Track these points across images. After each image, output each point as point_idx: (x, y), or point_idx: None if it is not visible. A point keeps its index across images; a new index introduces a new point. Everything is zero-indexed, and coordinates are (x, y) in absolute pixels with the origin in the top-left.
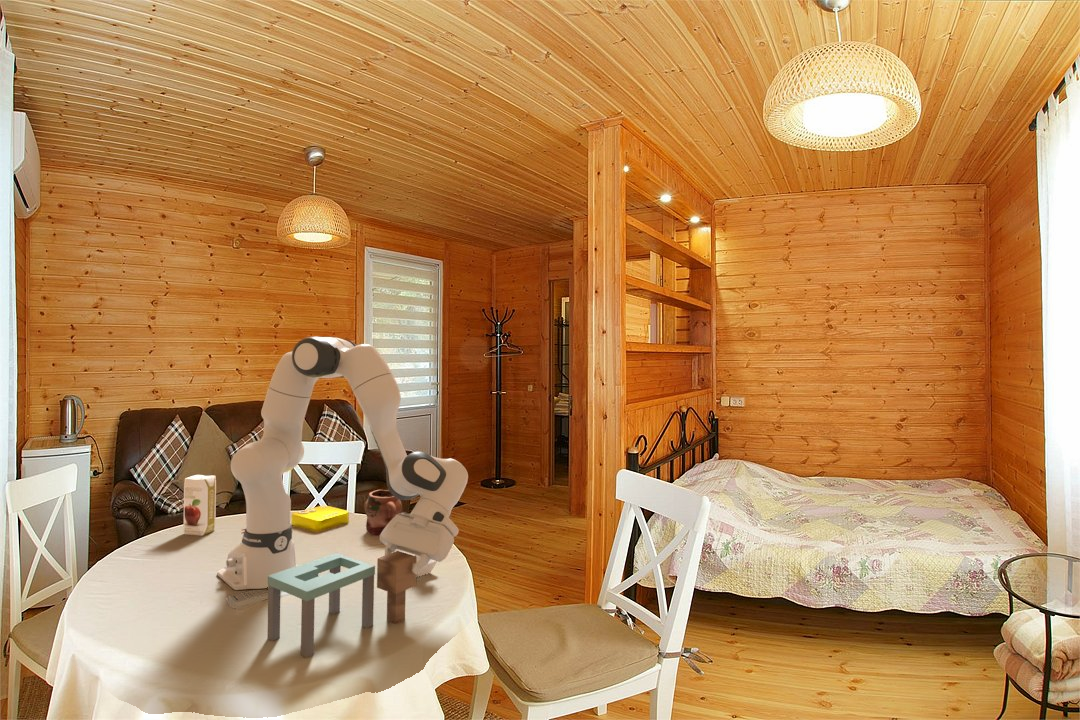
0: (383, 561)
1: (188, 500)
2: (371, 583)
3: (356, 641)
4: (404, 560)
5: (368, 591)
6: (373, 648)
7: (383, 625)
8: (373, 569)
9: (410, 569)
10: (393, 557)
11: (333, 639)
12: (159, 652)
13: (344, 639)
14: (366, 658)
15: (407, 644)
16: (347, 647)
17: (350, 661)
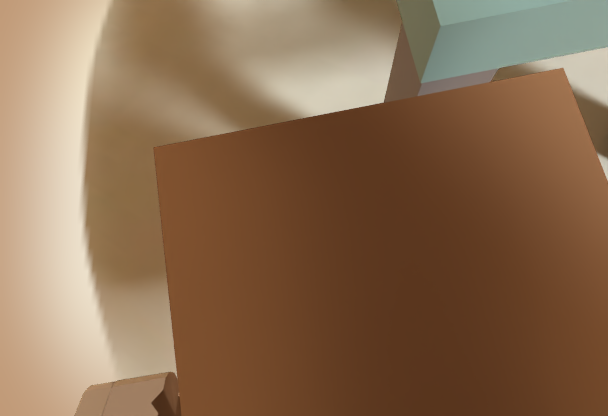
0: (425, 100)
1: None
2: (404, 93)
3: (289, 94)
4: (197, 328)
5: (388, 95)
6: (189, 117)
7: None
8: (427, 32)
9: (149, 379)
10: (447, 268)
11: (370, 38)
12: None
13: (339, 68)
14: (145, 64)
15: (108, 236)
16: (271, 50)
17: (171, 17)
